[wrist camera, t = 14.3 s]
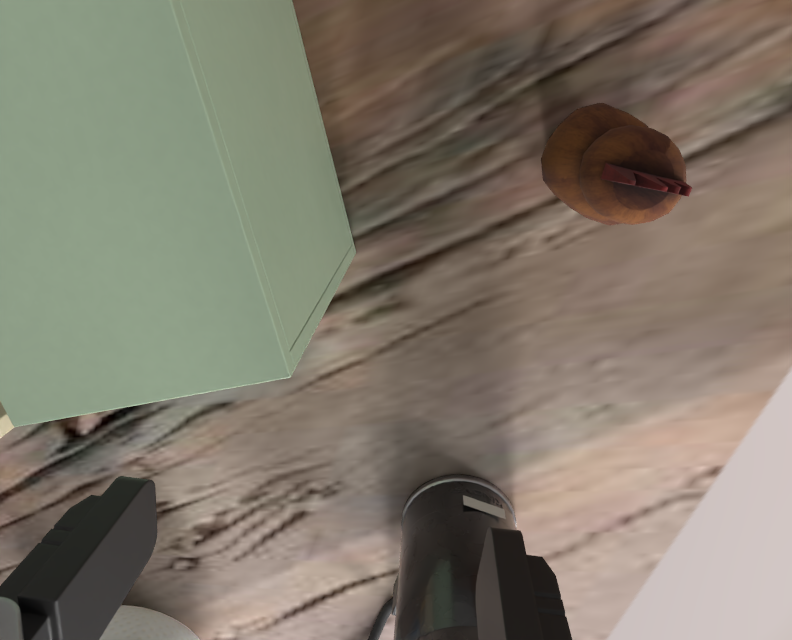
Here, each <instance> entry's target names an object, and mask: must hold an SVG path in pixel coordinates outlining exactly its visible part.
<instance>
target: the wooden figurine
mask: <svg viewBox="0 0 792 640" xmlns="http://www.w3.org/2000/svg"><path fill="white" fill-rule="evenodd" d="M541 163H542V174H543V181H544V182H545V183H546V184H547V186H548V187H549V188H550V190H551V191H552V192H553V193H554V195H556V196H557V197H558V198H559V199H560V200H562V201H563V202H564V203H565V204H566V205H568V206H569V207H570V208H572V209H573V210H575V211H577V212H578V213H580V214H581V215H583V216H585V217H586V218H589V219H592V220H595V221H598V222H601V223H604V224H607V225H614V224H620V223H625V224H631V225H633V224H639V223H645V222H651V221H654V220H656V219H658V218H660V217H662V216H664V215H666V214H668V213H669V212H670V211H671V210H672V209H673V207H674V206H675V205H676V203H677V202H678V201H679V200H680V198H681V195H684V196H689V194H690V192H691V189H692V187H690V186H689V185H688V184H686V165H685V162H684V160H683V157H682V155H681V153H680V150H679V149H678V147H677V146H676V145H675V144H674V143H673V142H672V141H671V140H670V138H669V137H668V136H666V135H664V134H662V133H660V132H658V131H656V130H654V129H651V128H649V127H648V126H647V125H646V124H644V123H643V122H641V121H640V120H638V119H637V118H635V117H633V116H632V115H630V114H629V113H626V112H624V111H621V110H619V109H616V108H614V107H611V106H609V105H607V104H604V103H597V104H594V105H590V106H586V107H582V108H579V109H576V110H575V111H574V112H573V113H572V114H571V115H570V116H568V117H567V118H566V119H565V120H564V121H563V122H562V123H561V124H560V125H559V126H558V127H557V129H556V130H555V131H554V133H553V134H552V135H551V137H550V138H549V140H548V141H547V144H546V147H545V150H544V152H543V155H542V158H541Z"/></svg>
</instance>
